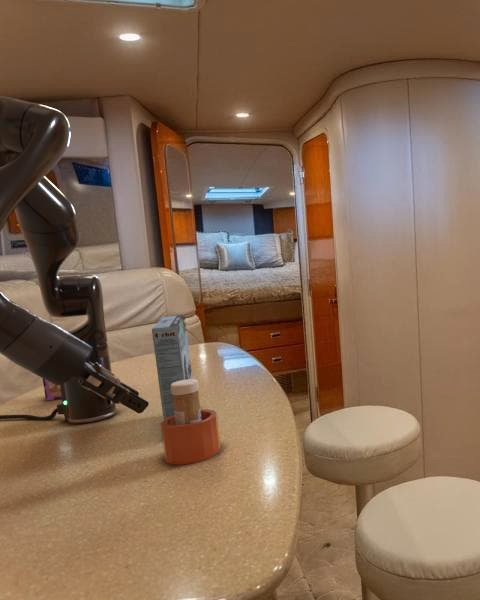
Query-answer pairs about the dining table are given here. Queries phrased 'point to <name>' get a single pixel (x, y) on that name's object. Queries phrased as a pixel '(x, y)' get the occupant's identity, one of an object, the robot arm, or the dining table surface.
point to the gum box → (171, 357)
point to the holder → (191, 439)
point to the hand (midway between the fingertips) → (140, 403)
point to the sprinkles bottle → (186, 401)
